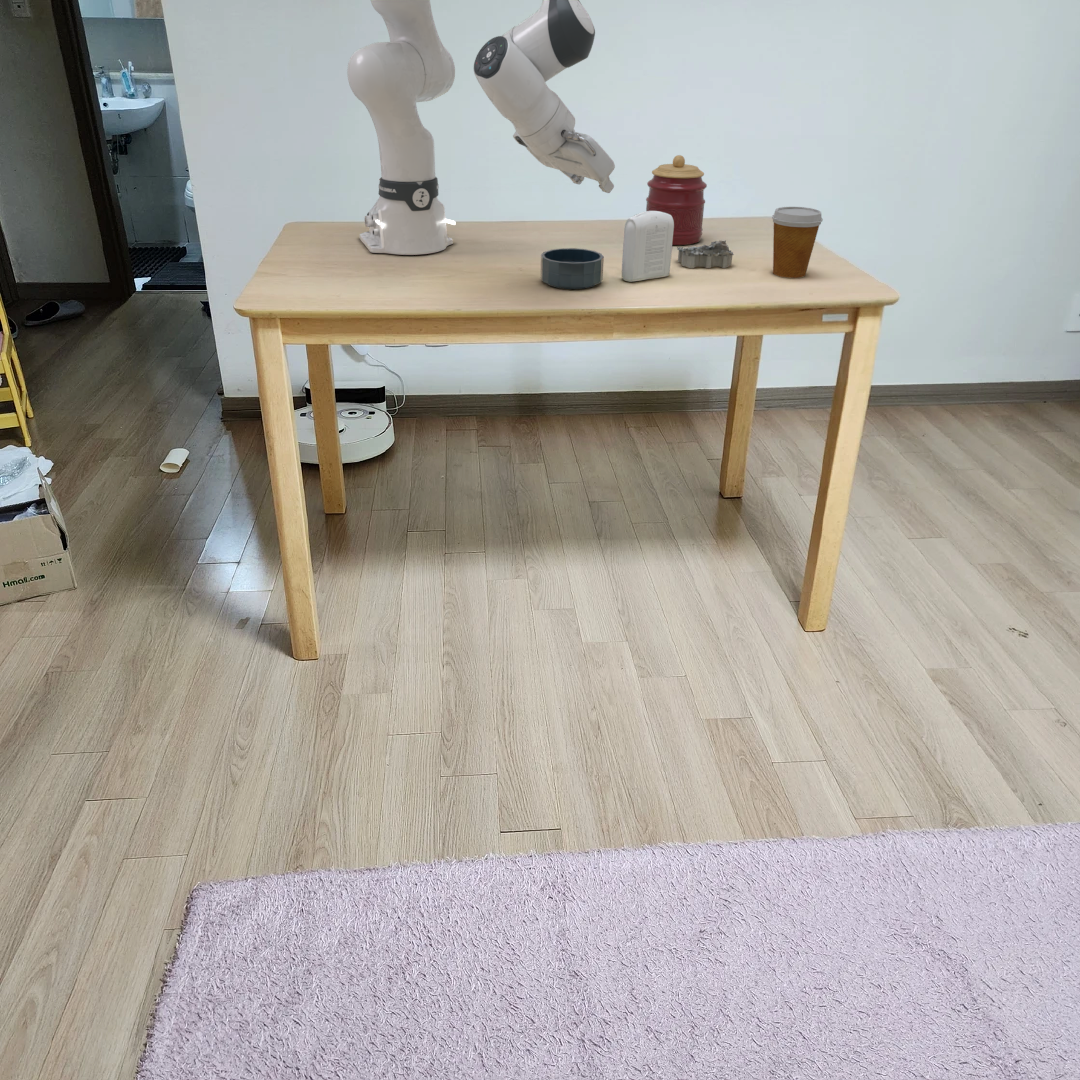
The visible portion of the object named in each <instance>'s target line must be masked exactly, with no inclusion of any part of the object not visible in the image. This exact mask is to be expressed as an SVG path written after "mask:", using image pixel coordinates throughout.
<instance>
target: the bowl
mask: <svg viewBox="0 0 1080 1080" xmlns="http://www.w3.org/2000/svg"><path fill="white" fill-rule="evenodd" d="M604 259H605V257H604V255H603V254H602V253H601V252H598V251H595V250H591V249H587V248H576V247H575V248H573V247H567V248H554V249H549V250H545V251H543V252H542V253H541V254H540V279H541V281H542V282H543V283H544V284H547V285H548V286H550V287H553V288H558V289H564V290H584V289H590V288H593V287H595V286H596V285H599V284H601V283H602V281H603V280H604V264H605V263H604V262H605V261H604Z"/></svg>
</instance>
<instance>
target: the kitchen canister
mask: <svg viewBox="0 0 1080 1080" xmlns="http://www.w3.org/2000/svg"><path fill="white" fill-rule="evenodd" d="M685 163H686V159H685V157H684V156H683V155H681V154H677V155H675V156H674V157H673V158H672V163H664V164H660V165H658V166H657V167H656V168H655V169H653V170H652V171H651V174H652V175H653V176H652V178H651V179H650V180H648V181H647V182H646V183H647V187H648V188H649V189H648V195H647V196H646V198H645V201H646V208H645V212H646V211H660V212H664V213H667V214H670V215H671V216H672V218H673V221H674V231H673V241H672V246H684V245H693V244H697V243H699V242H700V241H701V238H702V235H703V220H704V210H705V204H706V199H705V197H704V196H705V195H704V194H705V189H706V188H707V187H708V186H707V185H708V184H707V183H706V182H705V181H704V180H703V176H704V175H705V173H704V172H703V171H702V170H701V169H700V168H699V167H698V166H697V165H694V164H685Z"/></svg>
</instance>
